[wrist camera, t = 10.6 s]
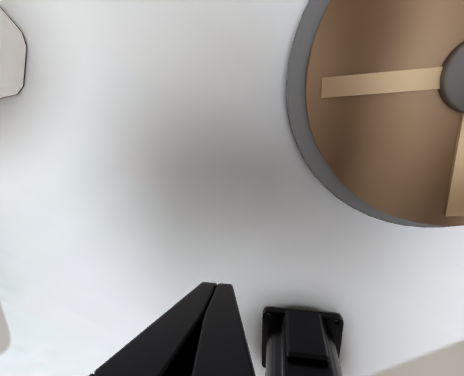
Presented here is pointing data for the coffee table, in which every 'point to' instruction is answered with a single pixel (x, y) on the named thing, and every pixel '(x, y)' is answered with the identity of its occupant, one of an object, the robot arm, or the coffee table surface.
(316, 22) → the wheel base
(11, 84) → the cup
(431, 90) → the handwheel
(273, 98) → the coffee table surface
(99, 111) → the coffee table surface
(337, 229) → the coffee table surface
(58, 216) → the coffee table surface
